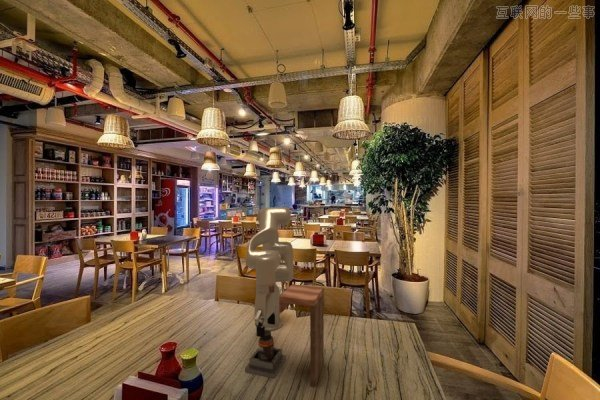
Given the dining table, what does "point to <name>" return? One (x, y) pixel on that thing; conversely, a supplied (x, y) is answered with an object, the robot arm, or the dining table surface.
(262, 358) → the supplement bottle
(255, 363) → the socket
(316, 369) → the wooden inverted l post
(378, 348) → the dining table surface
